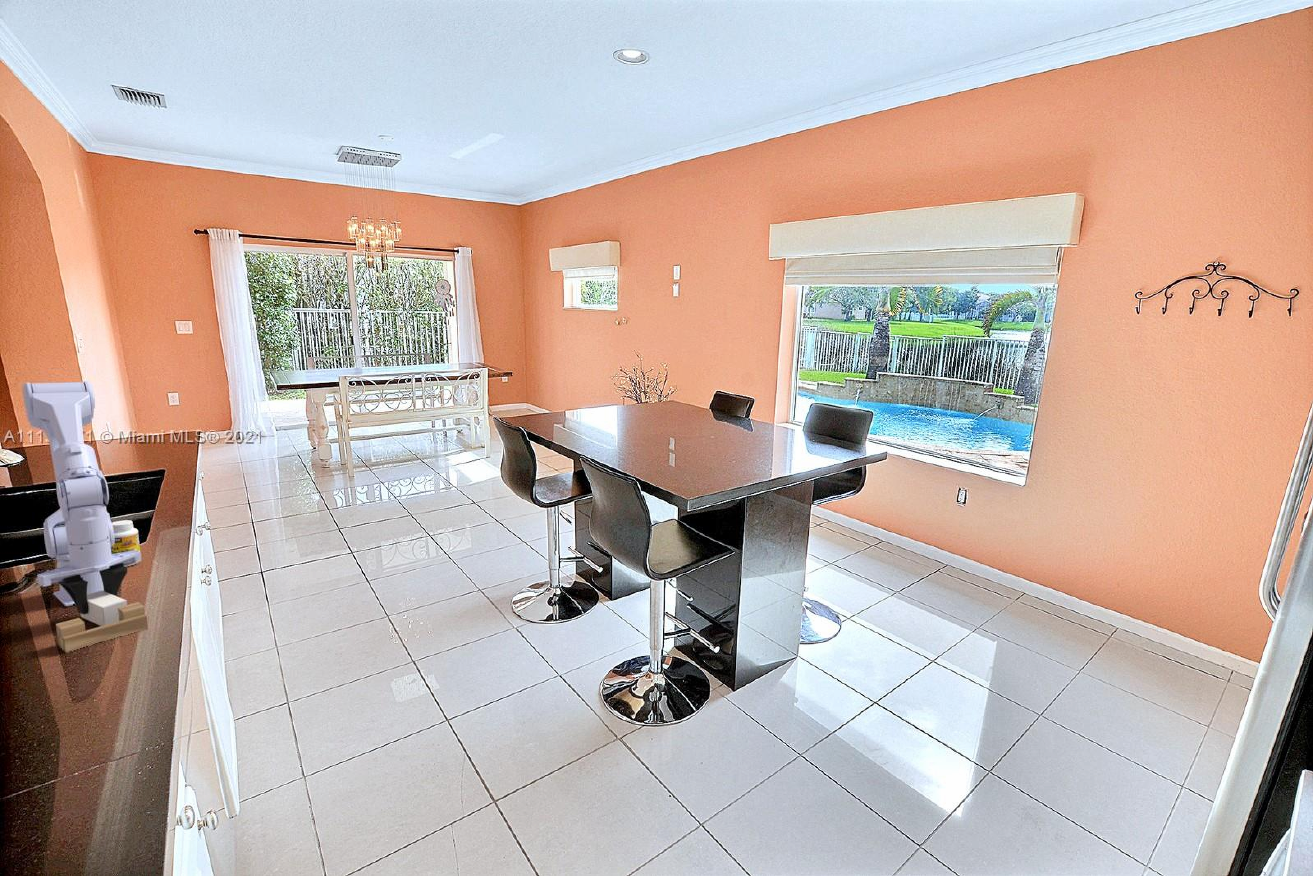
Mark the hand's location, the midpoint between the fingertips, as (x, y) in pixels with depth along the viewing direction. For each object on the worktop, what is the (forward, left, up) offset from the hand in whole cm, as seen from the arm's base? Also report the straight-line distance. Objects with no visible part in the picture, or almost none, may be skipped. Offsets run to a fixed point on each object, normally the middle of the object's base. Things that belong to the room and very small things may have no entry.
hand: (97, 608), depth 113 cm
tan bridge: (+9, -1, -2) cm, 10 cm away
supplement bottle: (-29, +12, -2) cm, 31 cm away
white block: (+2, 0, -2) cm, 2 cm away
